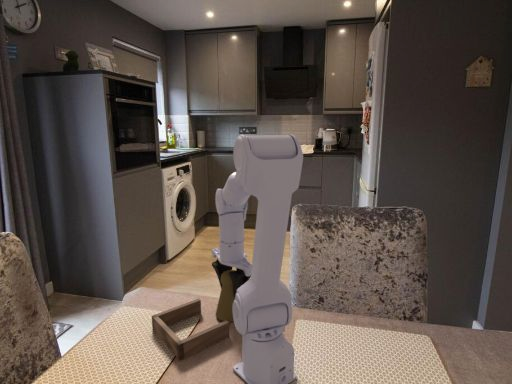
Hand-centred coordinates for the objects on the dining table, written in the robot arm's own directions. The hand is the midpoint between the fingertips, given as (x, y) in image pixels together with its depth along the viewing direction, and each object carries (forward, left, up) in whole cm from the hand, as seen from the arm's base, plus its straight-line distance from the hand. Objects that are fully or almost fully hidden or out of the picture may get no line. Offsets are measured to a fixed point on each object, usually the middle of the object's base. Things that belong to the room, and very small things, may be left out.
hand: (232, 293), depth 81 cm
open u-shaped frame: (0, +11, -6) cm, 12 cm away
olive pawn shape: (0, +1, -6) cm, 6 cm away
